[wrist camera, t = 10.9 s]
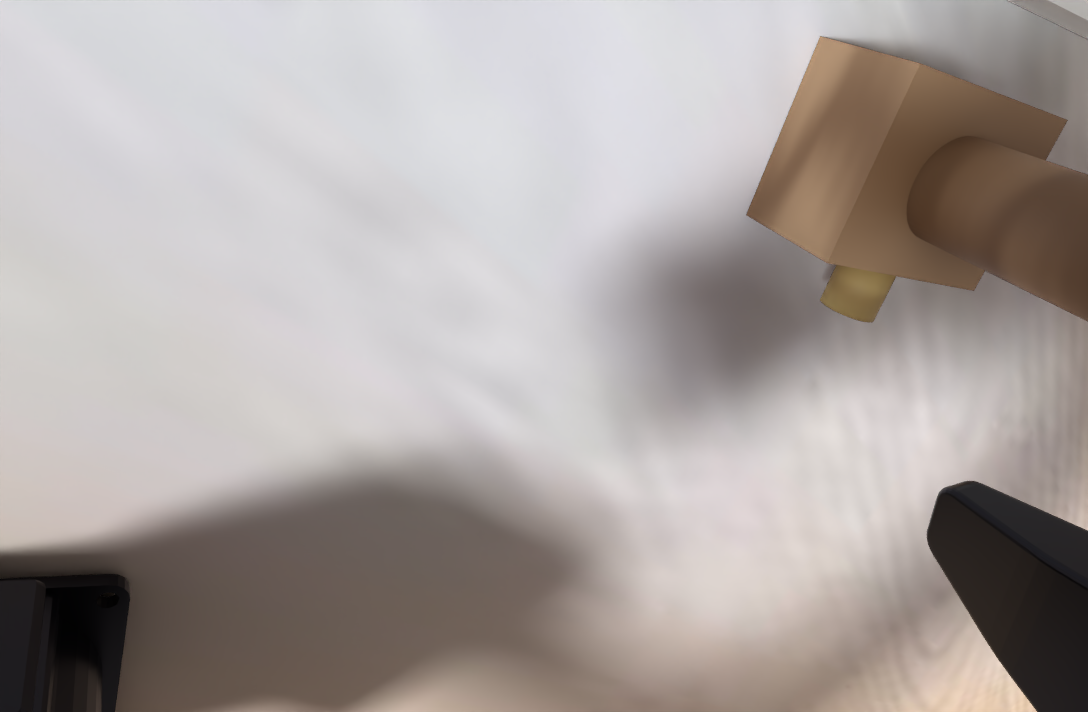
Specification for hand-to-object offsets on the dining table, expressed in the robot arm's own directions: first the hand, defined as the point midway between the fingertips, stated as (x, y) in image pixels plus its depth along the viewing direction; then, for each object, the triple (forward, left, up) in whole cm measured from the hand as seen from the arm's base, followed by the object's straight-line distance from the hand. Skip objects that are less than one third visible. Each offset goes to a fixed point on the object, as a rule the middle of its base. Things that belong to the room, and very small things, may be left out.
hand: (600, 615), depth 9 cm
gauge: (+5, -14, -13) cm, 19 cm away
